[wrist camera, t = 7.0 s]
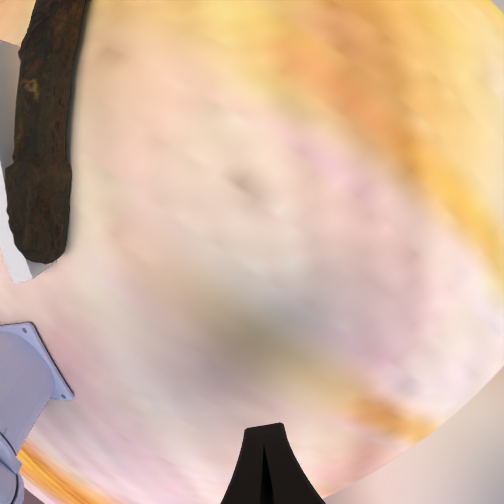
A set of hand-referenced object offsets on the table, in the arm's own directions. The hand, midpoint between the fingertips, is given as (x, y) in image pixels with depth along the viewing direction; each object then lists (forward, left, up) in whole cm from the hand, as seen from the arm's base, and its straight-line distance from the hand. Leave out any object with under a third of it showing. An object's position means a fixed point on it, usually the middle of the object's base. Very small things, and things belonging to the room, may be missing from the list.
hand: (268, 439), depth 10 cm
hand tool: (-9, +16, -10) cm, 20 cm away
